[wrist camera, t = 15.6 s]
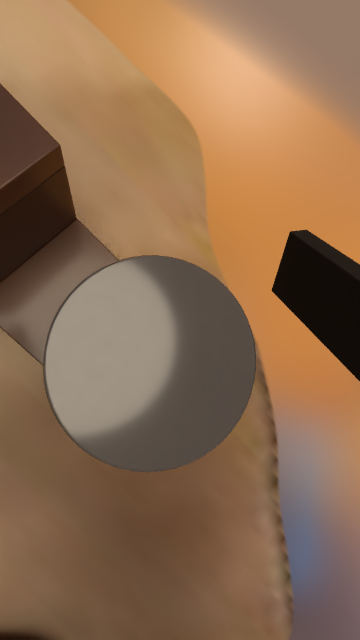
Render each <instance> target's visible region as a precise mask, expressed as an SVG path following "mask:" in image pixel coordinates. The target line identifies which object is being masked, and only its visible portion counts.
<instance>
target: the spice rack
mask: <svg viewBox="0 0 360 640" xmlns="http://www.w3.org/2000/svg"><path fill="white" fill-rule="evenodd" d="M116 261H119V260H118V259H117V258H116V257H115V256H114V255H113V254H112V253H111V252H110V251H109V250H108V249H107V248H106V247H105V246H104V245H103V244H102V243H101V242H100V241H99V240H98V239H97V238H96V237H95V236H94V235H93V234H92V233H91V232H90V231H89V230H88V229H87V228H86V227H85V226H84V225H83V224H82V223H81V222H80V221H79V220H78V219H76V214H75V210H74V205H73V201H72V196H71V192H70V187H69V183H68V178H67V174H66V169H65V166H64V160H63V156H62V151H61V147H60V144H59V143H58V142H57V141H56V140H55V139H54V138H53V137H52V136H51V135H50V134H49V133H48V132H47V131H46V130H45V129H44V128H43V127H42V126H41V125H40V124H39V123H38V122H37V121H36V120H35V119H34V118H33V117H32V116H31V115H30V114H29V112H28V111H27V110H26V109H25V108H24V107H23V106H22V105H21V104H20V103H19V102H18V101H17V100H16V99H15V98H14V97H13V96H12V95H11V94H10V93H9V92H8V91H7V90H6V89H5V88H4V87H3V86H2V85H1V84H0V328H2V329H3V330H4V331H5V332H6V333H7V334H8V335H9V336H10V337H12V338H13V339H14V340H15V341H16V342H17V343H18V344H19V345H21V346H22V347H23V348H24V349H25V350H26V351H27V352H28V353H30V354H31V355H32V356H33V357H34V358H35V359H36V360H37V361H38V362H40V363H41V364H42V365H43V355H44V347H45V342H46V338H47V334H48V331H49V328H50V326H51V323H52V320H53V318H54V317H55V315H56V313H57V311H58V309H59V307H60V306H61V304H62V303H63V302H64V300H65V299H66V297H67V296H68V295H69V294H70V293H71V291H72V290H73V289H74V288H75V287H76V286H77V285H78V284H79V283H80V282H82V281H83V280H84V279H85V278H87V277H88V276H89V275H90V274H92V273H94V272H95V271H97V270H99V269H100V268H102V267H104V266H106V265H109V264H111V263H113V262H116Z"/></svg>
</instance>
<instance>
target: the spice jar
mask: <svg viewBox="0 0 360 640" xmlns="http://www.w3.org/2000/svg"><path fill="white" fill-rule="evenodd" d="M255 371H256V353H255V344H254V339H253V335H252V330H251V328H250V325H249V322H248V319H247V317H246V315H245V313H244V311H243V309H242V307H241V306H240V304H239V303H238V301H237V300H236V298H235V297H234V295H233V294H232V293H231V292H230V291H229V290H228V288H227V287H226V286H225V285H224V284H222V283H221V282H220V281H219V280H218V279H217V278H216V277H214V276H213V275H211V274H210V273H209V272H207V271H206V270H204V269H202V268H200V267H198V266H196V265H194V264H192V263H189V262H187V261H184V260H181V259H177V258H173V257H167V256H159V255H143V256H136V257H130V258H126V259H122V260H119V261H116V262H113V263H111V264H109V265H106V266H104V267H102V268H100V269H99V270H97V271H95V272H94V273H92V274H90V275H89V276H88V277H87V278H85V279H84V280H83V281H82V282H80V283H79V284H78V285H77V286H76V287H75V288H74V289H73V290H72V291H71V293H70V294H69V295H68V296H67V297H66V299H65V300H64V302H63V303H62V304H61V306H60V307H59V309H58V311H57V313H56V315H55V317H54V318H53V320H52V323H51V326H50V328H49V331H48V334H47V338H46V342H45V347H44V355H43V378H44V385H45V390H46V394H47V398H48V401H49V403H50V406H51V409H52V411H53V413H54V415H55V417H56V419H57V421H58V422H59V424H60V426H61V427H62V428H63V430H64V431H65V432H66V434H67V435H68V436H69V437H70V438H71V439H72V440H73V441H74V442H75V443H76V444H77V445H78V446H79V447H80V448H81V449H82V450H84V451H85V452H86V453H88V454H89V455H90V456H92V457H94V458H96V459H98V460H99V461H101V462H103V463H105V464H108V465H111V466H113V467H116V468H119V469H124V470H129V471H136V472H158V471H165V470H170V469H175V468H178V467H181V466H184V465H187V464H189V463H191V462H193V461H195V460H197V459H199V458H201V457H203V456H204V455H206V454H207V453H209V452H210V451H211V450H213V449H214V448H215V447H216V446H217V445H219V444H220V443H221V442H222V441H223V440H224V439H225V438H226V437H227V436H228V434H229V433H230V432H231V431H232V430H233V428H234V427H235V426H236V424H237V423H238V421H239V420H240V418H241V416H242V414H243V412H244V410H245V408H246V406H247V404H248V401H249V398H250V396H251V392H252V388H253V384H254V379H255Z"/></svg>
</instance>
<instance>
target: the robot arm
mask: <svg viewBox="0 0 360 640" xmlns="http://www.w3.org/2000/svg"><path fill="white" fill-rule="evenodd" d="M272 292H273V293H274V294H275V295H277V297H278V298H279V299H280V300H281V301H282V302H283V303H284V304H285V305H286V306H287V307H288V308H289V309H290V310H291V311H292V312H293V313H294V314H295V315H296V316H297V317H298V318H299V319H300V320H301V321H302V322H303V323H304V324H305V325H306V327H308V328H309V330H310V331H311V332H312V333H313V334H314V335H315V336H316V337H317V338H318V339H319V340H320V341H321V342H322V343H323V344H324V345H325V346H326V347H327V348H328V349H329V350H330V351H331V352H332V353H333V354H334V355H335V356H336V357H337V358H338V359H339V360H340V362H342V364H343V365H344V366H345V367H346V368H347V369H348V370H349V371H350V372H351V373H352V374H353V375H354V376H355V377H356V378H357V379H358V380H359V381H360V265H359V264H358V263H356V262H355V261H353V260H352V259H350V258H349V257H347V256H346V255H344V254H342V253H341V252H340V251H338V250H336V249H335V248H334V247H332V246H330V245H329V244H327V243H326V242H324V241H323V240H321V239H320V238H318V237H317V236H315V235H313V234H312V233H311V232H309V231H308V230H300V231H291V232H290V233H289V237H288V240H287V243H286V246H285V249H284V253H283V256H282V259H281V262H280V265H279V269H278V272H277V275H276V278H275V281H274V285H273V288H272Z"/></svg>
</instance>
